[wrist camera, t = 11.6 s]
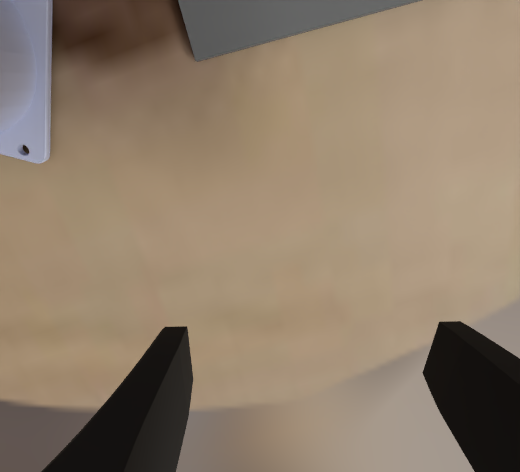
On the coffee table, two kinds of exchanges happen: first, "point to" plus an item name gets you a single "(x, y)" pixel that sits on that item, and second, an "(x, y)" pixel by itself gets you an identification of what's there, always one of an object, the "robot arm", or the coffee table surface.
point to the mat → (265, 20)
